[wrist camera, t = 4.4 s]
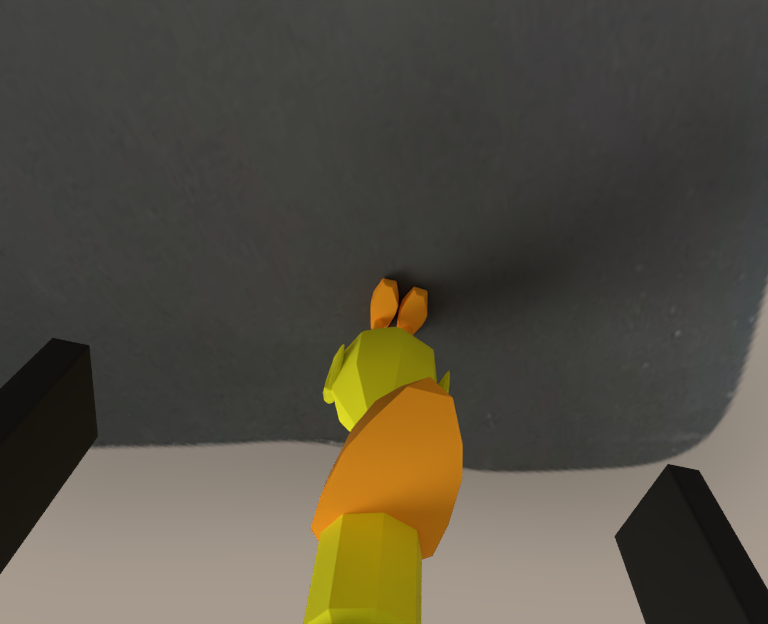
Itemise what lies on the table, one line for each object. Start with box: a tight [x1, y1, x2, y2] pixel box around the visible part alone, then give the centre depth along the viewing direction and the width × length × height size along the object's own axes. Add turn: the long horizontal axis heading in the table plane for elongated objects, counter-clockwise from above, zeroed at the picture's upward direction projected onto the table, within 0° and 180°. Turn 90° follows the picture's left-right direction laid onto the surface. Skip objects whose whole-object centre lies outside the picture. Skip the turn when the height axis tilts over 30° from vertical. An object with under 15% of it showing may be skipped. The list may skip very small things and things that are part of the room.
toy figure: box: [303, 278, 463, 624], centre depth 13 cm, size 7×4×12 cm, turn 165°
